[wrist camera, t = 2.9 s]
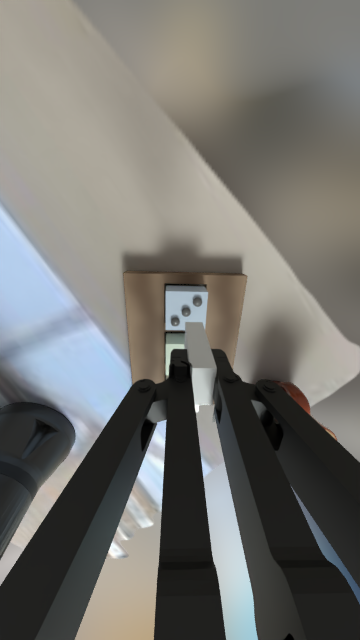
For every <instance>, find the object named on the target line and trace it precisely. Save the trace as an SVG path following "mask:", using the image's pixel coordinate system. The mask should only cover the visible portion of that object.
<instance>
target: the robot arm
mask: <svg viewBox="0 0 360 640" xmlns="http://www.w3.org/2000/svg"><path fill="white" fill-rule="evenodd" d="M213 399H214V404H215V406H214V414H213V422H215V419H216V424H217V428H218V433H219V438H220V442H221V447H222V452H223V456H224V461H225V466H226V470H227V475H228V480H229V484H230V489H231V494H232V498H233V502H234V507H235V512H236V517H237V522H238V526H239V531H240V535H241V540H242V545H243V549H244V554H245V559H246V563H247V568H248V573H249V577H250V582H251V587H252V592H253V599H254V613H255V623H256V631H257V636H258V640H360V604H359V602H358V600H357V598H356V596H355V594H354V592H353V591H352V589H351V587H350V585H349V584H348V582H347V580H346V578H345V577H344V576H343V575H342V573H341V572H340V571H339V569H338V568H337V567H336V566H335V565H333V564H332V563H331V562H329V561H328V560H327V559H326V558H325V556H324V555H323V554H322V552H321V550H320V548H319V546H318V544H317V542H316V540H315V537H314V535H313V533H312V531H311V529H310V527H309V525H308V523H307V520H306V518H305V516H304V514H303V512H302V509H301V507H300V505H299V503H298V501H297V499H296V496H295V494H294V492H293V490H292V488H293V489H294V491H295V492H296V494H297V495H298V497H299V498H300V499H301V501H302V502H303V504H304V506H305V507H306V509H307V510H308V511H309V513H310V515H311V516H312V517H313V519H314V520H315V522H316V523H317V525H318V526H319V528H320V529H321V531H322V532H323V534H324V535H325V537H326V538H327V540H328V541H329V543H330V544H331V546H332V547H333V549H334V550H335V552H336V553H337V555H338V556H339V558H340V559H341V561H342V562H343V564H344V565H345V567H346V568H347V570H348V571H349V573H350V574H351V576H352V577H353V579H354V580H355V582H356V583H357V584H358V586H359V588H360V462H358V461H357V460H356V459H355V458H354V457H353V456H352V455H351V454H350V453H349V452H348V451H347V450H346V449H345V448H344V447H343V446H342V445H341V444H340V443H339V442H337V440H335V439H334V438H333V437H332V436H331V435H330V434H329V433H328V432H327V431H326V430H325V429H324V428H323V427H322V426H321V425H320V424H319V423H318V422H317V421H316V420H315V419H314V418H312V417H311V416H310V415H309V414H308V413H307V412H306V411H305V410H304V409H303V408H302V407H301V406H300V405H299V404H298V403H297V402H296V401H295V400H294V399H293V398H292V397H291V396H289V395H288V394H287V393H286V392H285V391H284V390H283V389H282V388H281V387H280V386H279V385H278V384H276V383H275V382H272V381H270V380H259V381H258V382H257V383H256V385H253V384H249V383H246V382H243V381H242V380H241V378H240V377H239V376H238V375H237V374H235V373H234V372H233V369H232V367H231V365H230V363H229V360H228V358H227V356H226V353H225V352H224V351H223V350H221V349H211V348H210V345H209V342H208V338H207V335H206V332H205V329H204V326H203V323H202V322H185V343H184V349H173V350H172V351H171V355H170V365H169V377H168V378H167V379H166V380H165V381H163V382H161V383H157V384H155V382H154V381H152V380H150V379H141V380H138V381H136V382H135V383H134V384H133V385H132V387H131V388H130V390H129V391H128V393H127V394H126V396H125V397H124V399H123V400H122V402H121V403H120V405H119V406H118V408H117V409H116V411H115V412H114V414H113V415H112V417H111V418H110V420H109V421H108V423H107V425H106V426H105V428H104V429H103V431H102V432H101V434H100V435H99V437H98V438H97V440H96V441H95V443H94V444H93V446H92V447H91V449H90V450H89V452H88V453H87V455H86V456H85V458H84V459H83V461H82V463H81V464H80V466H79V467H78V469H77V470H76V472H75V473H74V475H73V476H72V478H71V479H70V481H69V482H68V484H67V485H66V487H65V488H64V490H63V491H62V493H61V494H60V496H59V497H58V499H57V501H56V502H55V504H54V505H53V507H52V508H51V510H50V511H49V513H48V514H47V516H46V517H45V519H44V520H43V522H42V523H41V525H40V526H39V528H38V529H37V531H36V532H35V534H34V535H33V537H32V539H31V540H30V542H29V543H28V545H27V546H26V548H25V549H24V551H23V552H22V554H21V555H20V557H19V558H18V560H17V561H16V563H15V564H14V566H13V567H12V569H11V570H10V572H9V574H8V575H7V577H6V578H5V580H4V581H3V583H2V584H1V586H0V640H74V639H75V637H76V634H77V632H78V629H79V627H80V624H81V621H82V619H83V616H84V613H85V611H86V608H87V606H88V603H89V600H90V598H91V595H92V593H93V590H94V587H95V584H96V582H97V579H98V577H99V574H100V572H101V569H102V566H103V564H104V561H105V559H106V556H107V553H108V551H109V548H110V545H111V543H112V540H113V538H114V535H115V532H116V530H117V527H118V525H119V522H120V519H121V517H122V514H123V511H124V509H125V506H126V504H127V501H128V498H129V496H130V493H131V491H132V488H133V485H134V483H135V480H136V477H137V475H138V472H139V470H140V467H141V464H142V462H143V459H144V457H145V454H146V451H147V449H148V446H149V443H150V441H151V438H152V436H153V433H154V430H155V428H156V425H157V422H160V421H163V420H166V419H167V422H166V441H165V460H164V479H163V498H162V517H161V536H160V555H159V567H158V578H157V593H156V611H155V629H154V640H226V636H225V629H224V620H223V612H222V604H221V596H220V589H219V583H218V577H217V571H216V567H215V565H214V562H213V557H212V551H211V542H210V533H209V524H208V517H207V508H206V498H205V489H204V482H203V472H202V463H201V454H200V446H199V437H198V428H197V419H196V411H195V405H213ZM276 420H277V421H278V422H277V421H276ZM74 442H75V432H74V429H73V427H72V425H71V424H70V422H69V421H68V420H67V419H66V418H65V417H64V416H63V415H61V414H60V413H58V412H57V411H55V410H53V409H51V408H48V407H46V406H43V405H39V404H34V403H15V404H10V405H7V406H5V407H3V408H1V409H0V560H1V558H2V556H3V554H4V552H5V550H6V549H7V547H8V545H9V543H10V541H11V539H12V537H13V536H14V534H15V532H16V530H17V528H18V526H19V525H20V523H21V521H22V519H23V517H24V515H25V514H26V512H27V510H28V508H29V506H30V504H31V502H32V501H33V499H34V497H35V495H36V493H37V492H38V490H39V488H40V487H41V486H42V485H43V483H44V482H45V481H46V480H47V479H48V478H49V477H50V476H51V475H52V473H53V472H54V471H55V470H56V469H57V468H58V466H59V465H60V464H61V463H62V462H63V461H64V460H65V459H66V457H67V456H68V454H69V452H70V450H71V448H72V446H73V444H74ZM290 485H291V486H292V488H291V486H290Z"/></svg>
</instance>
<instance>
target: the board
mask: <svg viewBox="0 0 360 640" xmlns="http://www.w3.org/2000/svg"><path fill="white" fill-rule="evenodd" d="M123 276H124V288H125V300H126V312H127V324H128V336H129V348H130V359H131V371H132V383H133V384H134V383H135V382H136V381H138V380H141V379H150V380H152V381H154V382H155V384H157V383H161V382H163V381H165V372H166V357H165V332H185V330H166V318H165V283H169V284H204V287H205V288H206V290H207V291H208V300H207V312H206V324H205V332H206V335H207V338H208V342H209V345H210V348H211V349H221V350H223V351H224V352H225V353H226V356H227V358H228V360H229V363H230V365H231V367H232V369H233V365H234V358H235V352H236V346H237V339H238V333H239V327H240V320H241V314H242V307H243V301H244V295H245V288H246V282H247V275H244V274H240V273H196V272H153V271H126V272H124V273H123ZM213 404H214V399H213Z"/></svg>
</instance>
